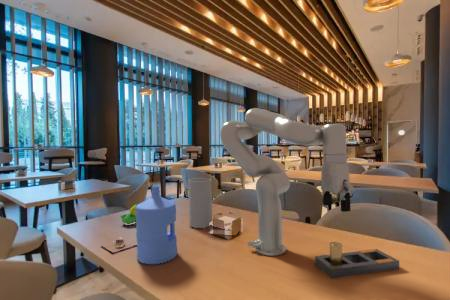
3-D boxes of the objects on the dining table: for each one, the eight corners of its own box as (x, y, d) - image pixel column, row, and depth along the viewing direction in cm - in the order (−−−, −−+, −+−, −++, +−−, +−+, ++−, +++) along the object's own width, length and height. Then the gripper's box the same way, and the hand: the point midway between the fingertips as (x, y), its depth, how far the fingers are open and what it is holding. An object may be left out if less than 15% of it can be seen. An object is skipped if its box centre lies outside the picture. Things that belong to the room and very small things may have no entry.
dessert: (100, 247, 114) (100, 237, 114) (126, 239, 123) (126, 230, 123) (112, 255, 106) (111, 244, 106) (139, 246, 115) (138, 235, 115)
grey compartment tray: (331, 278, 84) (331, 269, 84) (315, 264, 94) (315, 255, 94) (399, 269, 89) (399, 260, 89) (376, 256, 99) (376, 248, 99)
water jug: (140, 269, 93) (138, 192, 92) (134, 253, 107) (132, 185, 106) (182, 259, 100) (180, 187, 99) (171, 245, 114) (169, 182, 113)
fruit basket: (137, 219, 154) (136, 200, 153) (146, 222, 148) (146, 202, 148) (119, 225, 144) (119, 205, 144) (129, 227, 139) (128, 207, 139)
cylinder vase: (216, 223, 143) (215, 178, 142) (203, 230, 132) (202, 182, 131) (199, 220, 150) (198, 177, 149) (184, 226, 139) (183, 180, 138)
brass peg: (334, 273, 88) (334, 246, 87) (327, 267, 92) (327, 242, 91) (344, 271, 88) (344, 245, 88) (337, 266, 92) (337, 241, 92)
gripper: (311, 158, 98) (313, 203, 98) (341, 161, 81) (343, 215, 81) (329, 157, 99) (330, 202, 100) (362, 159, 82) (363, 213, 83)
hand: (336, 207), depth 90 cm, fingers open, 9 cm apart
